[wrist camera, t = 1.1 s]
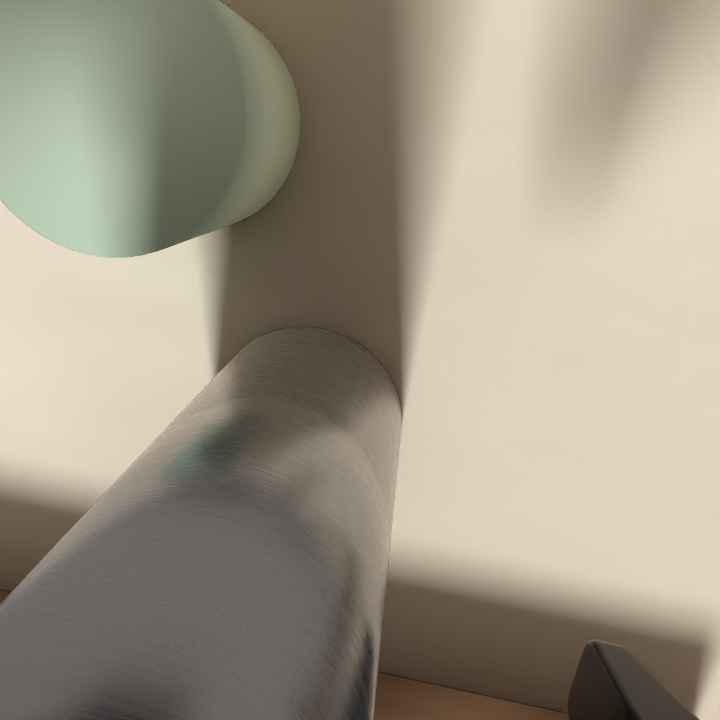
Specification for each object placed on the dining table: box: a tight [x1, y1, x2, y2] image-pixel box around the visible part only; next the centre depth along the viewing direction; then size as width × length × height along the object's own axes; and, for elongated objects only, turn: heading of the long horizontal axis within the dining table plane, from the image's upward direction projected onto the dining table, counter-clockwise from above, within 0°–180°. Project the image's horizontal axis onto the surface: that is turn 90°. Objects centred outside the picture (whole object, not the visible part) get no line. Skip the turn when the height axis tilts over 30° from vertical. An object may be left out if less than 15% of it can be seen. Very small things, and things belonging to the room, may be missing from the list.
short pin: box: [0, 0, 301, 258], centre depth 11 cm, size 4×4×4 cm
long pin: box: [0, 327, 402, 720], centre depth 10 cm, size 4×4×10 cm
